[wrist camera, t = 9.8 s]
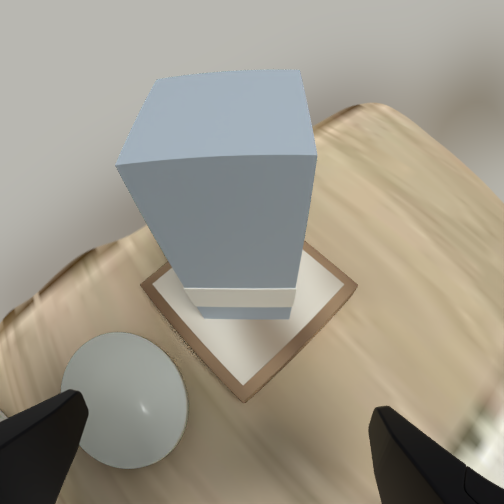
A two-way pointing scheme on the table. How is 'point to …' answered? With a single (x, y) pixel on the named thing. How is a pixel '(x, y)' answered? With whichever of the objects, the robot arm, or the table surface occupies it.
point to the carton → (226, 185)
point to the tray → (254, 324)
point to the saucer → (128, 399)
